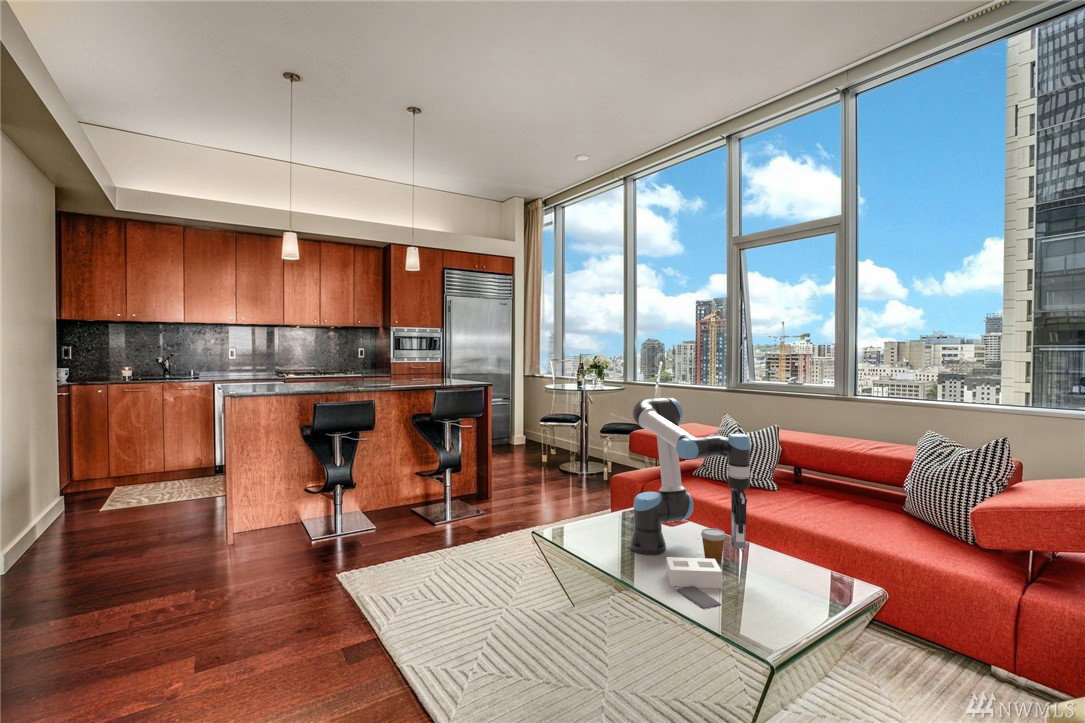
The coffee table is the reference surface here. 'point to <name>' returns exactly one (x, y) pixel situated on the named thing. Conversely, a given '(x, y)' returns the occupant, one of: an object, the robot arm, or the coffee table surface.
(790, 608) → the coffee table surface
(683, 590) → the smartphone
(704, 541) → the disposable coffee cup
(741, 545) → the plug
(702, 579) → the socket box
